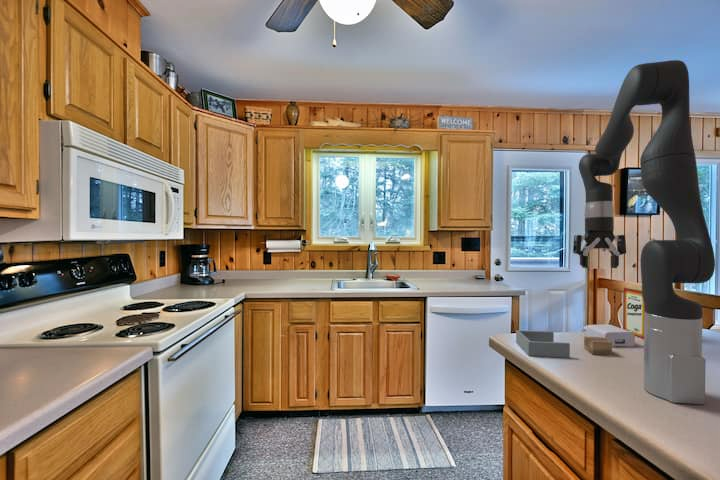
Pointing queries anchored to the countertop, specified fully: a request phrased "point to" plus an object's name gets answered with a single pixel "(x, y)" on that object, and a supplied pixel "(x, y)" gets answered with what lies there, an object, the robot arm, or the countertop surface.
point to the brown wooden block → (597, 345)
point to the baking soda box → (634, 311)
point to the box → (541, 344)
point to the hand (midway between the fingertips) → (599, 267)
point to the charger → (611, 334)
